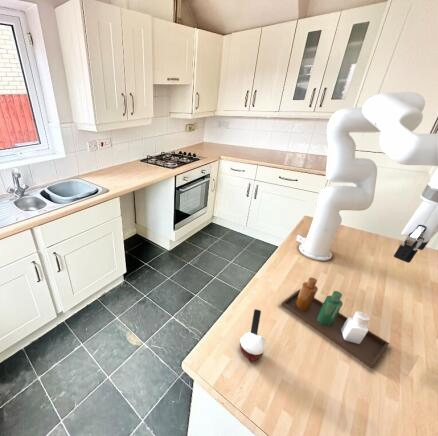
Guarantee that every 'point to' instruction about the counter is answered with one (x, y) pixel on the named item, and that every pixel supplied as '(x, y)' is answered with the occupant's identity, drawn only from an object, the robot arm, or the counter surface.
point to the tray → (339, 332)
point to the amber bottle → (306, 294)
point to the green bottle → (330, 309)
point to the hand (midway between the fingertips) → (408, 253)
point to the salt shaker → (355, 327)
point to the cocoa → (253, 340)
